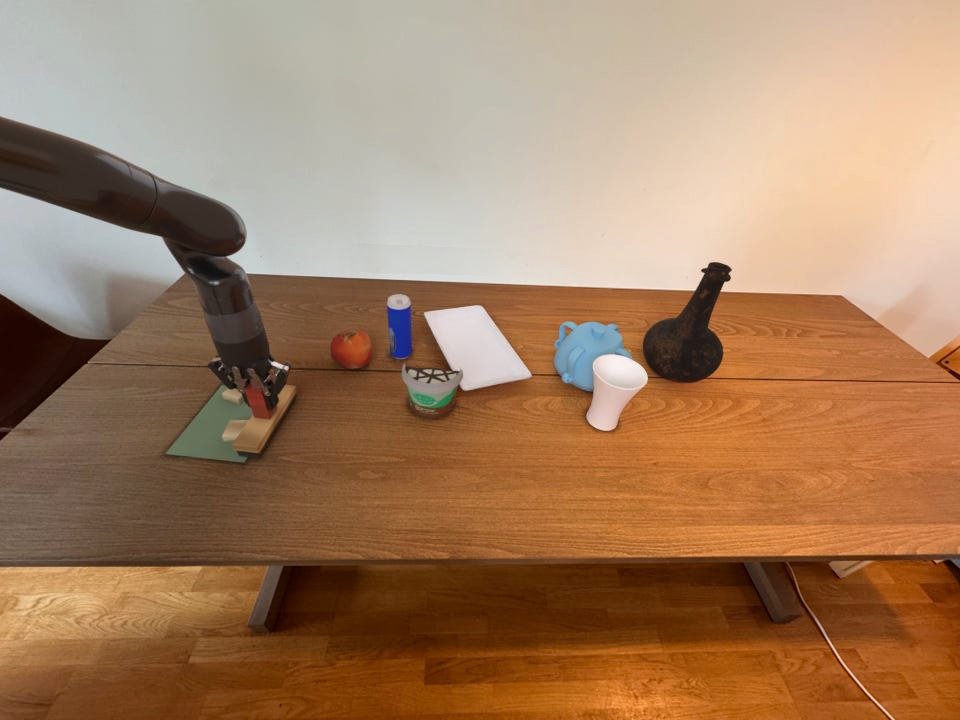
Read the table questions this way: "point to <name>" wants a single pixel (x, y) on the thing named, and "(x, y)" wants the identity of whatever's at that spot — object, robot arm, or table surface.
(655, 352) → the glass bottle
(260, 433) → the brush
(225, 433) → the chip
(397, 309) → the beverage can
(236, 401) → the chip
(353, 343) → the tomato
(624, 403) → the cup
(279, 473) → the table surface
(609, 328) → the decorative pot
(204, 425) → the mat
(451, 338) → the tray
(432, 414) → the food container
